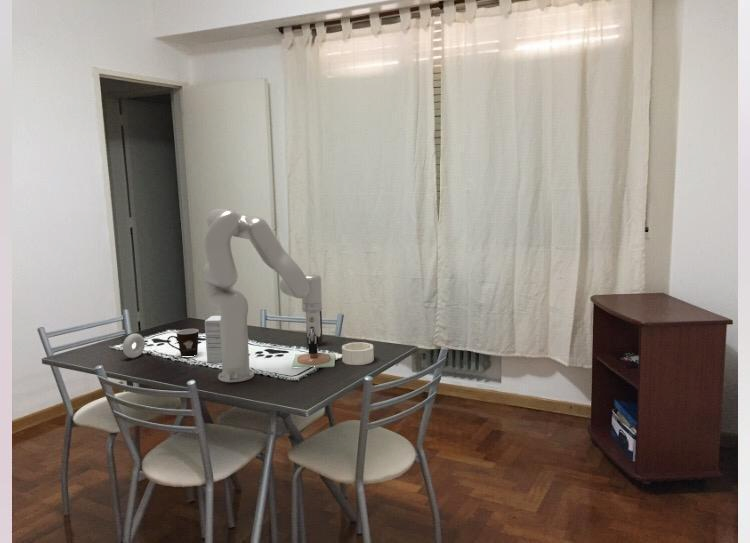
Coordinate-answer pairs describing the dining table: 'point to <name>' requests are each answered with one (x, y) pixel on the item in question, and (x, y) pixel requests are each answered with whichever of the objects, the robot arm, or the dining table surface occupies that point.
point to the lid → (313, 358)
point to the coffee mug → (187, 342)
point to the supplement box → (213, 339)
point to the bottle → (320, 340)
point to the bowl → (357, 353)
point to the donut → (138, 349)
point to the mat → (327, 364)
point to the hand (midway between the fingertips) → (313, 349)
